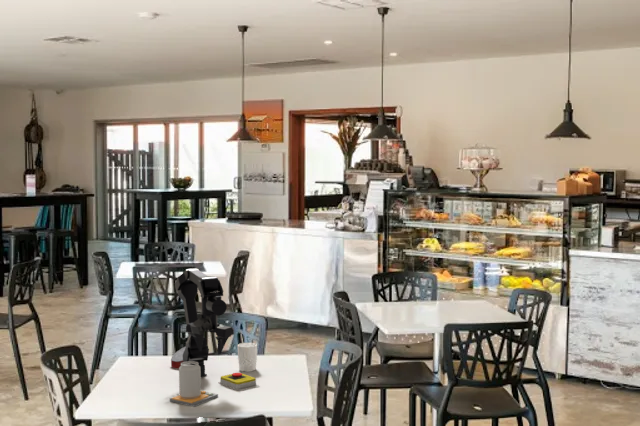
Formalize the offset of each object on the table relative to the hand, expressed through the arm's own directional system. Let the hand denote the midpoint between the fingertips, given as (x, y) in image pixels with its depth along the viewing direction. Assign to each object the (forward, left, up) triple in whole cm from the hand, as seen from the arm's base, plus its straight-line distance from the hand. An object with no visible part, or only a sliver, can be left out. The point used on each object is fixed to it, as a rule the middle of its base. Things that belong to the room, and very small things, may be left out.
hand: (209, 352), depth 306 cm
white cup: (-3, +27, -13) cm, 30 cm away
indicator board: (+5, -15, -13) cm, 20 cm away
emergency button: (+7, +8, -14) cm, 17 cm away
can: (+5, -17, -12) cm, 21 cm away
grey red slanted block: (-29, +18, -13) cm, 37 cm away
